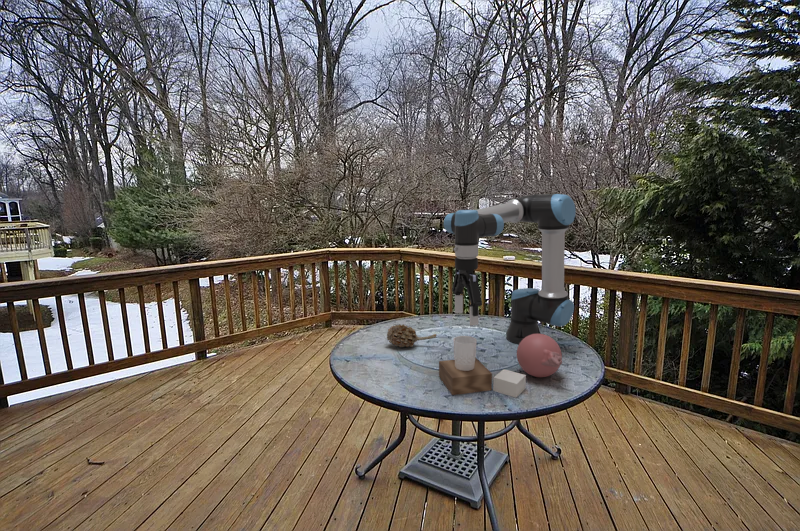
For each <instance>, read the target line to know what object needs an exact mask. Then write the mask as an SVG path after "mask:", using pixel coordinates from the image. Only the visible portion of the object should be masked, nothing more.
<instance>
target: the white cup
mask: <svg viewBox="0 0 800 531" xmlns="http://www.w3.org/2000/svg"><path fill="white" fill-rule="evenodd" d="M477 342H478V340H477V338H475V337H473V336H470V335H458V336H455V337H453V357H454V359H453V360H455V367H456V369H458V370H462V371H470V370H473V369H474V365H475V357H477V345H478V343H477Z"/></svg>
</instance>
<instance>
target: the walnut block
mask: <svg viewBox="0 0 800 531" xmlns="http://www.w3.org/2000/svg"><path fill="white" fill-rule="evenodd" d="M476 357H477V356H476ZM476 357H475V365H474V369H473V370H470V371H462V370H458V369H456V367H455V359H449V360H440V361H438V378H439V377H440V378H441V379H440V378H439V379H440V380H441V382H442V381H443V382H442V384H444V386H445V387H446V389H447V390H448V391H449V393H450V394H451V395H452V396H456V395H457V396H458V395H464V394H466V395H467V394H470V393H471V394H472V393H479V392H480V393H481V392H487V391H488V392H489V391H493V373H492V372H491V371H490V370H489V368H487V367H486V366H485V365H484V364H483V363H482V362H481V361H480V360H479V359H478V358H476Z"/></svg>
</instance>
